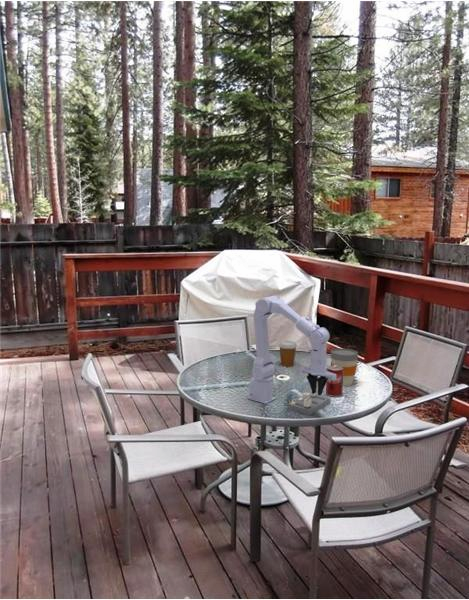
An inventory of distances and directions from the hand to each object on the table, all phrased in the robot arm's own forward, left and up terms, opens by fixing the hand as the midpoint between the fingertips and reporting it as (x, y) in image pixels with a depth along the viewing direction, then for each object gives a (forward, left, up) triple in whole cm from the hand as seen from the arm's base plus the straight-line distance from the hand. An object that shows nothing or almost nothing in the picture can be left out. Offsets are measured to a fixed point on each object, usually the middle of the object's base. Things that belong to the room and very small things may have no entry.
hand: (317, 393), depth 186 cm
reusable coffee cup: (-9, +42, -9) cm, 44 cm away
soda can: (-5, +25, -9) cm, 27 cm away
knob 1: (-4, 0, -6) cm, 7 cm away
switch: (-8, +6, -6) cm, 12 cm away
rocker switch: (-8, +12, -6) cm, 16 cm away
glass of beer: (-44, +49, -9) cm, 66 cm away
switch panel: (-6, +6, -8) cm, 12 cm away
